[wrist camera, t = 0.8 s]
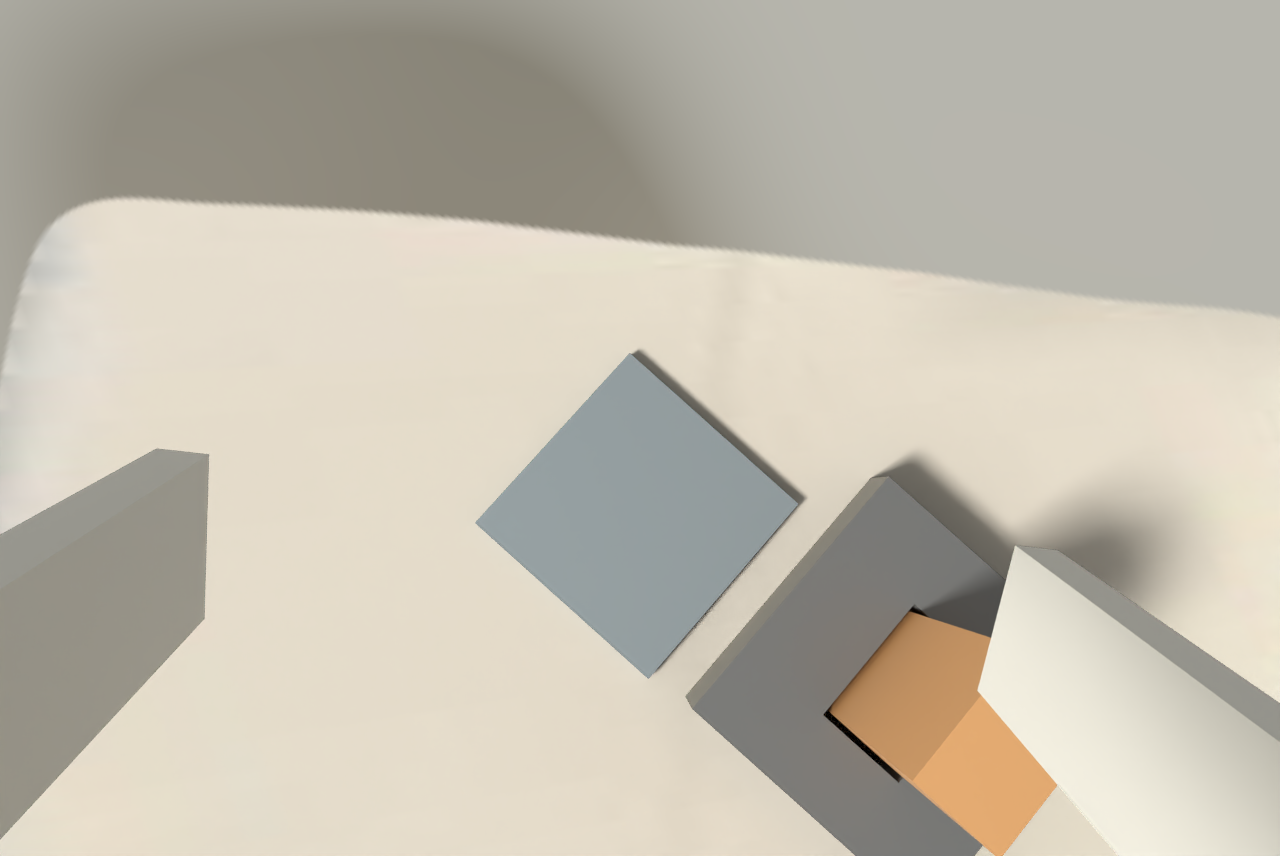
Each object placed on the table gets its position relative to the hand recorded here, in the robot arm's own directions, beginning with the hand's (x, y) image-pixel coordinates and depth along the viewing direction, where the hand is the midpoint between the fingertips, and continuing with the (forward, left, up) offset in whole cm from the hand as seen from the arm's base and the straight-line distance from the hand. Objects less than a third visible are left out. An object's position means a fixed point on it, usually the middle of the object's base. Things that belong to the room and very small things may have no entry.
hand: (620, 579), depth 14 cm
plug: (-15, -4, -28) cm, 32 cm away
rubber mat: (-1, -2, -27) cm, 28 cm away
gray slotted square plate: (-15, -4, -28) cm, 32 cm away
